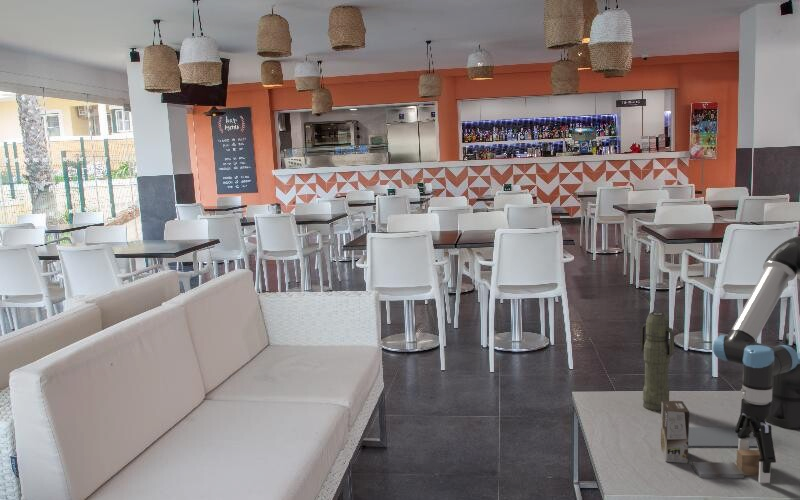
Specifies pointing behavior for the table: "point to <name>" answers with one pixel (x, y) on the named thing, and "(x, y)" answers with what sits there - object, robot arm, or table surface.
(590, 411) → the table surface
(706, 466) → the wood block metal plate
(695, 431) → the mat
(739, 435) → the robot arm
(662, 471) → the table surface
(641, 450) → the table surface
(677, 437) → the coffee box
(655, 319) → the thermos
